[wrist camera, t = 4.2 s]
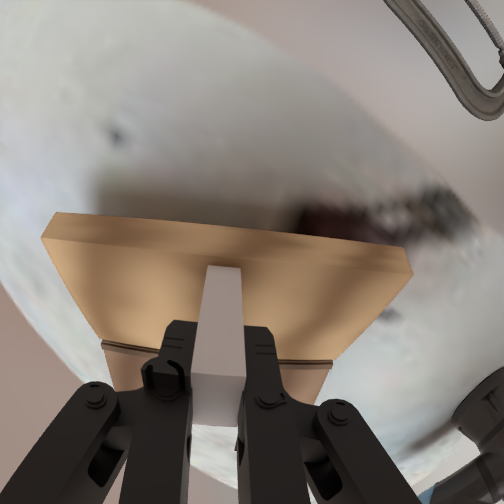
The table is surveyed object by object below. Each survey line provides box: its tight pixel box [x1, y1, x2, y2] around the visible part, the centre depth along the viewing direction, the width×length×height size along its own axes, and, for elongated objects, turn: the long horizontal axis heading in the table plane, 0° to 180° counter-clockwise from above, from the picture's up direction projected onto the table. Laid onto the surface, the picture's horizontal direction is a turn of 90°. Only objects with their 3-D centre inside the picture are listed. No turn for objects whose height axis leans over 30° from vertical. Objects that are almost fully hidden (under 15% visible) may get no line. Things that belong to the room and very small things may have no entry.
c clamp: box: [383, 0, 504, 121], centre depth 12 cm, size 20×17×3 cm
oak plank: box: [40, 212, 414, 360], centre depth 18 cm, size 20×12×2 cm, turn 83°
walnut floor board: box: [101, 339, 333, 405], centre depth 25 cm, size 20×8×2 cm, turn 83°
